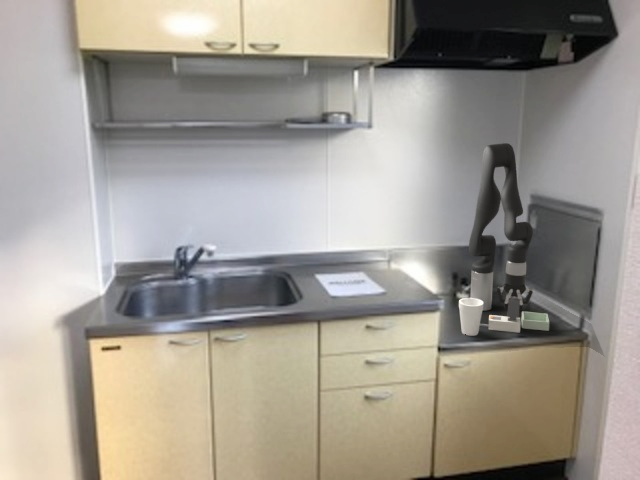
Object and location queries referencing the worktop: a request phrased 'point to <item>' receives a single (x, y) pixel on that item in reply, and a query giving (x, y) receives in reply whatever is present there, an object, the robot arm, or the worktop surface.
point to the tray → (535, 321)
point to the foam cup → (470, 315)
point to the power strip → (503, 324)
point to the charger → (513, 308)
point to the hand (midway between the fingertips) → (512, 312)
